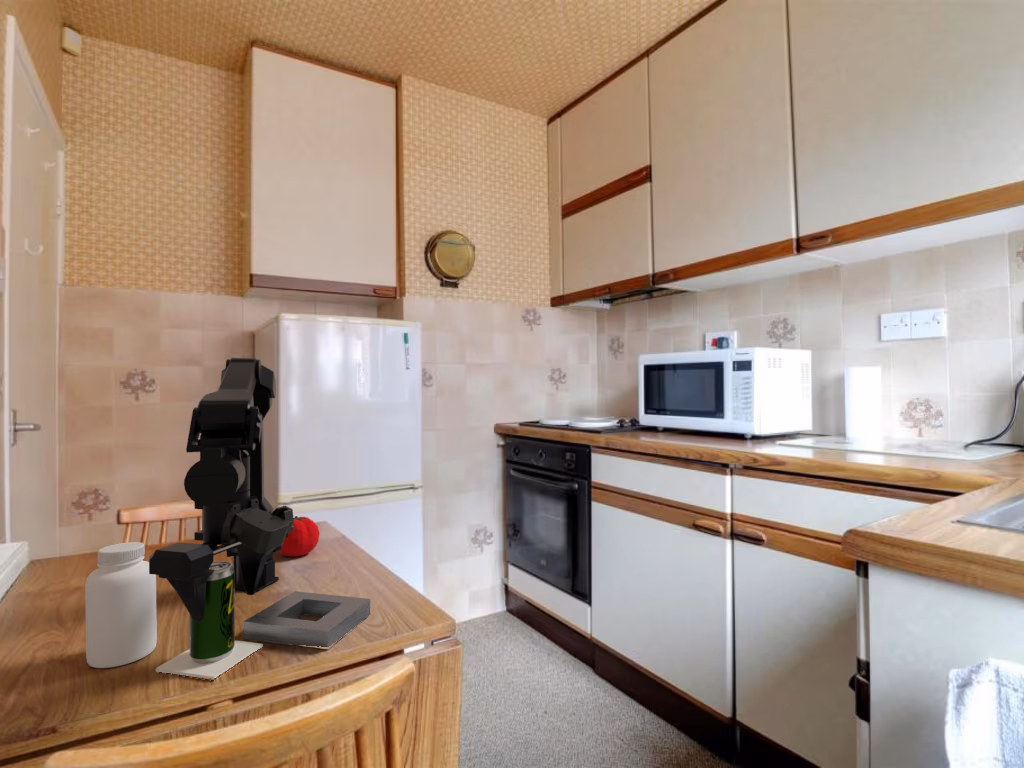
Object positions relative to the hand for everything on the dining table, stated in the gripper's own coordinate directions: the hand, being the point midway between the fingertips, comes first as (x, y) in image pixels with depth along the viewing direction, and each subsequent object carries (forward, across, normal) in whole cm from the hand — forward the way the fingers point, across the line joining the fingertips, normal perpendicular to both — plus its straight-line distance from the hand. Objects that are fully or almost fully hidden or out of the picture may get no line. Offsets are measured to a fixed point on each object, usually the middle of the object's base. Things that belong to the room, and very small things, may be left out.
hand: (226, 607), depth 73 cm
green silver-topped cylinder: (+7, 0, +3) cm, 8 cm away
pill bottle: (+8, -2, +16) cm, 17 cm away
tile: (+7, 0, +3) cm, 8 cm away
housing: (+7, +12, -4) cm, 15 cm away
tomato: (+7, +43, +21) cm, 48 cm away
